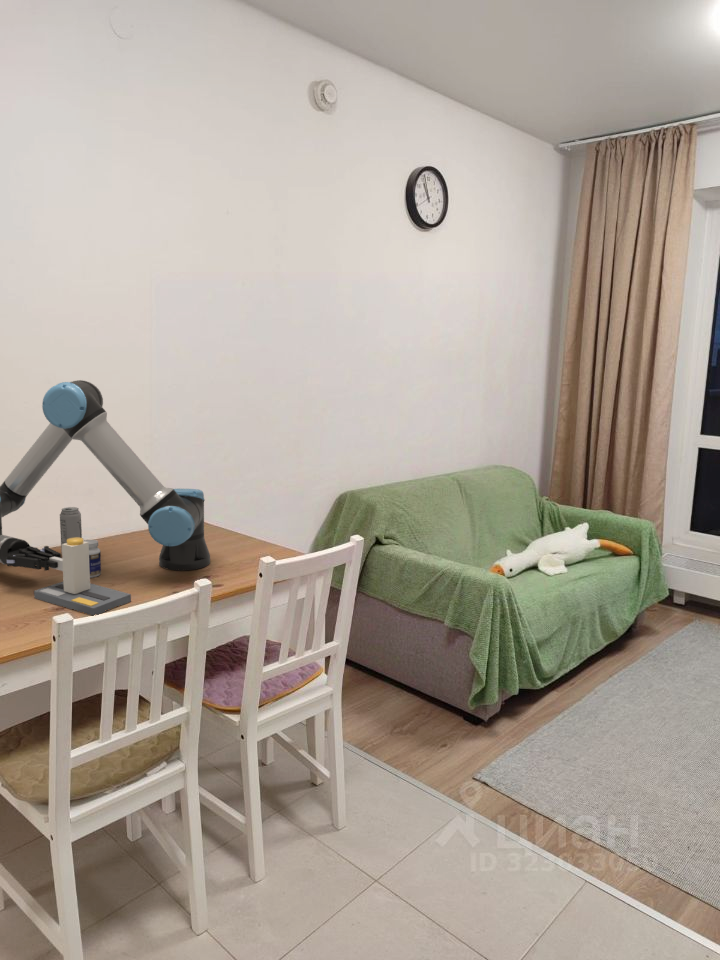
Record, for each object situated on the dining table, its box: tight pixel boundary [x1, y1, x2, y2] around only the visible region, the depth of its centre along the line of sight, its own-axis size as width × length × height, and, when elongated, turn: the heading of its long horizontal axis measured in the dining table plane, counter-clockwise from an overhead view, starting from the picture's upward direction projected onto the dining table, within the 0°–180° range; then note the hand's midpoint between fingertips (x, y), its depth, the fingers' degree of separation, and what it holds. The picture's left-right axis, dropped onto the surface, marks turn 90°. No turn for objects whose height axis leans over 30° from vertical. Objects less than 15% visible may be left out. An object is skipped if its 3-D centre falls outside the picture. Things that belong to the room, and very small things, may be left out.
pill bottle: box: [83, 539, 102, 579], centre depth 205 cm, size 6×6×10 cm
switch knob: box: [61, 537, 91, 594], centre depth 186 cm, size 4×5×14 cm
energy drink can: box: [59, 506, 83, 555], centre depth 221 cm, size 6×6×15 cm
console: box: [33, 581, 132, 616], centre depth 187 cm, size 22×12×2 cm, turn 61°
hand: (68, 566), depth 187 cm, fingers closed
